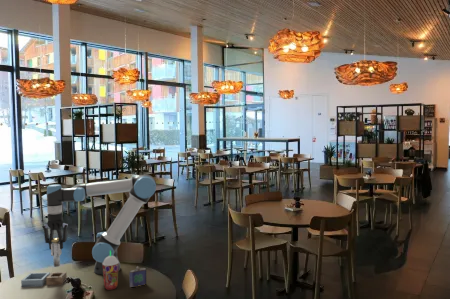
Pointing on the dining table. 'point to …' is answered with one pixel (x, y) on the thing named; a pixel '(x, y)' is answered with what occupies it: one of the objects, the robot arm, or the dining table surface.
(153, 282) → the dining table surface
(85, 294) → the dining table surface
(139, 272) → the flask
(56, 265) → the pin
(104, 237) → the robot arm
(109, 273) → the smoothie
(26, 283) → the tray
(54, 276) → the block
